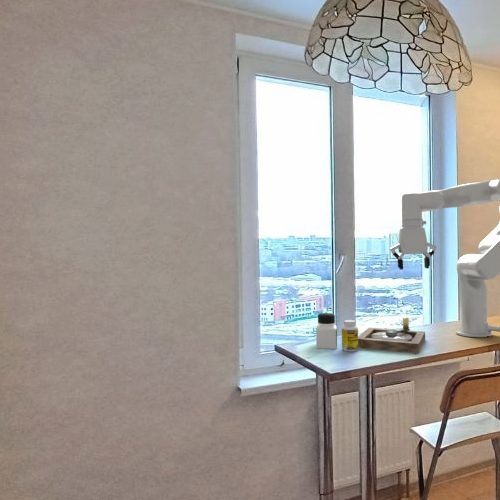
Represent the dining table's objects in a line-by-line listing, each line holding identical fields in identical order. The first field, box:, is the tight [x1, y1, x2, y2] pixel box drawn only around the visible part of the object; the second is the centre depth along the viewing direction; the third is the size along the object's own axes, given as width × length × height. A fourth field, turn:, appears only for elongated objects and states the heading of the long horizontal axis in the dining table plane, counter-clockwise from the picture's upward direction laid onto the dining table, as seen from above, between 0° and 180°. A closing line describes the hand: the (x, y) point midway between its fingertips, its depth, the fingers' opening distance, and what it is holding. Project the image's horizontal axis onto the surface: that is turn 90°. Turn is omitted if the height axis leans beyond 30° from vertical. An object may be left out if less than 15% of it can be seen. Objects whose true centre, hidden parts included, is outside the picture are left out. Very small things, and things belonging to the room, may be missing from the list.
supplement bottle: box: [341, 319, 359, 353], centre depth 152 cm, size 6×6×10 cm
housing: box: [358, 327, 426, 354], centre depth 160 cm, size 21×21×3 cm
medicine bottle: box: [315, 312, 338, 350], centre depth 158 cm, size 7×7×12 cm
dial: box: [372, 316, 412, 342], centre depth 160 cm, size 16×14×7 cm
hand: (414, 268), depth 169 cm, fingers open, 9 cm apart
